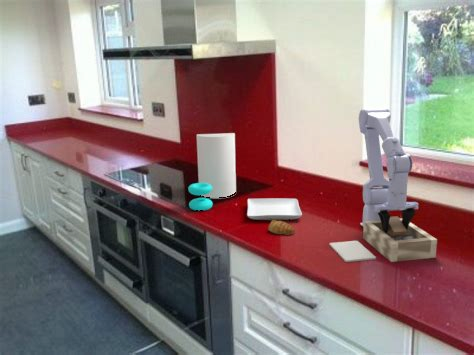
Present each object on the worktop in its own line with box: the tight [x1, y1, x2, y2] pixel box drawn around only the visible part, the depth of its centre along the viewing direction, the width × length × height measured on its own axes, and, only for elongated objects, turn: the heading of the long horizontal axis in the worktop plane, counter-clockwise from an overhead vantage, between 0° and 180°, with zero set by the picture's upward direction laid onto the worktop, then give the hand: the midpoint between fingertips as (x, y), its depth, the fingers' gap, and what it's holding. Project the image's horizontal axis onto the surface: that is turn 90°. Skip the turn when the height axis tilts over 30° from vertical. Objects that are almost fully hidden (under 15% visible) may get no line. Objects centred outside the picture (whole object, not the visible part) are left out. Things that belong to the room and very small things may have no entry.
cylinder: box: [196, 132, 237, 199], centre depth 218 cm, size 17×17×28 cm
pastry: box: [268, 220, 296, 236], centre depth 172 cm, size 9×7×4 cm
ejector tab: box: [392, 234, 416, 241], centre depth 155 cm, size 14×10×2 cm
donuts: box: [187, 182, 214, 212], centre depth 200 cm, size 10×10×10 cm
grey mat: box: [328, 240, 377, 263], centre depth 154 cm, size 14×10×1 cm
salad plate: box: [246, 197, 303, 221], centre depth 192 cm, size 21×21×3 cm
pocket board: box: [362, 217, 438, 263], centre depth 156 cm, size 20×15×6 cm
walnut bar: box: [388, 215, 407, 236], centre depth 157 cm, size 7×4×2 cm, turn 10°
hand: (394, 230), depth 158 cm, fingers open, 6 cm apart
